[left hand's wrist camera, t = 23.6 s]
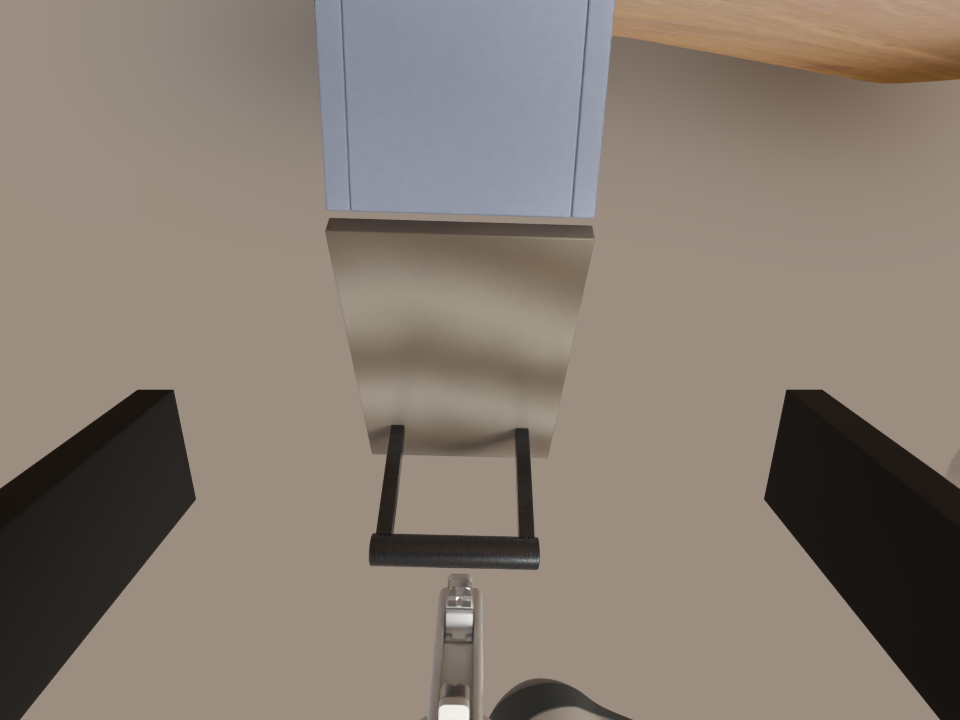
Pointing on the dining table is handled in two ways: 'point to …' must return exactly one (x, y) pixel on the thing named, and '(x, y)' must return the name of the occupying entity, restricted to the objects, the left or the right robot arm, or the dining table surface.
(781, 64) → the dining table surface
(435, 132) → the chest
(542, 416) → the lid
